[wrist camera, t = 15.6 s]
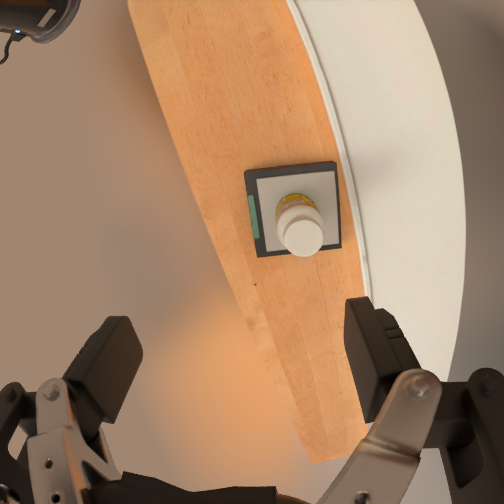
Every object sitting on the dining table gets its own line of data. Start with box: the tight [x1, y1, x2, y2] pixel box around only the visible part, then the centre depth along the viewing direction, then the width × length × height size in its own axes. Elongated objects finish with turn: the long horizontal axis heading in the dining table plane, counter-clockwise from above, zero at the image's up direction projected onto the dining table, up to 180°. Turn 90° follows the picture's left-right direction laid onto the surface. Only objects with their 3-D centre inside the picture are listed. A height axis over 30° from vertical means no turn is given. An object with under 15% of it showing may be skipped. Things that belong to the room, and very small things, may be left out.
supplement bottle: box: [275, 193, 325, 257], centre depth 33 cm, size 5×5×10 cm
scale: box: [244, 161, 342, 258], centre depth 38 cm, size 12×12×3 cm
